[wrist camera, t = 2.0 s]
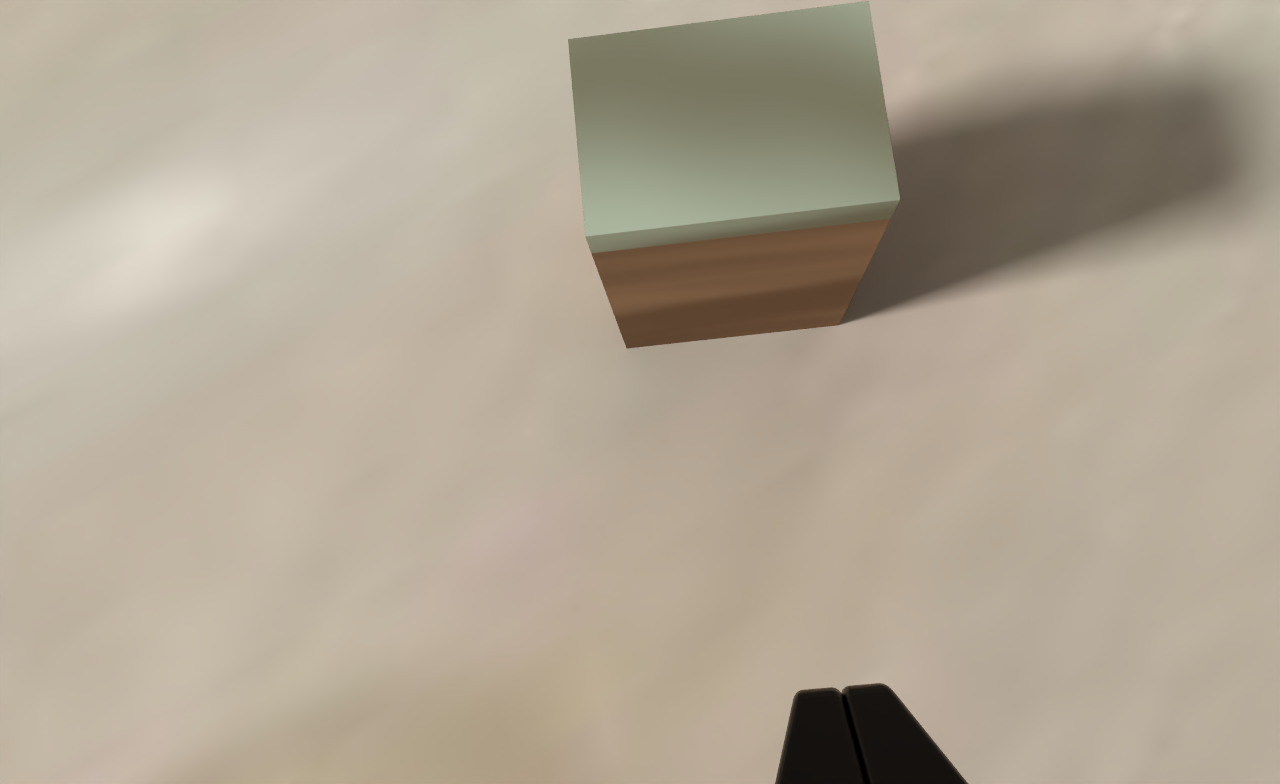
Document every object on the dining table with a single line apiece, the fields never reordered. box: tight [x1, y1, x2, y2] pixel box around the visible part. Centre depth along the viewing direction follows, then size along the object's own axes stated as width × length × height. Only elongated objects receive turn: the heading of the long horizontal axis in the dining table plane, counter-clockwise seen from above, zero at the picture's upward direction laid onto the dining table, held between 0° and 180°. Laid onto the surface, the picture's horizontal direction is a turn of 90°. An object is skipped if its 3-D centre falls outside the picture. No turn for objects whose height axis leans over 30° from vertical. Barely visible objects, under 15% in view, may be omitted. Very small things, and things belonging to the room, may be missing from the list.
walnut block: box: [568, 1, 900, 348], centre depth 19 cm, size 4×5×8 cm
